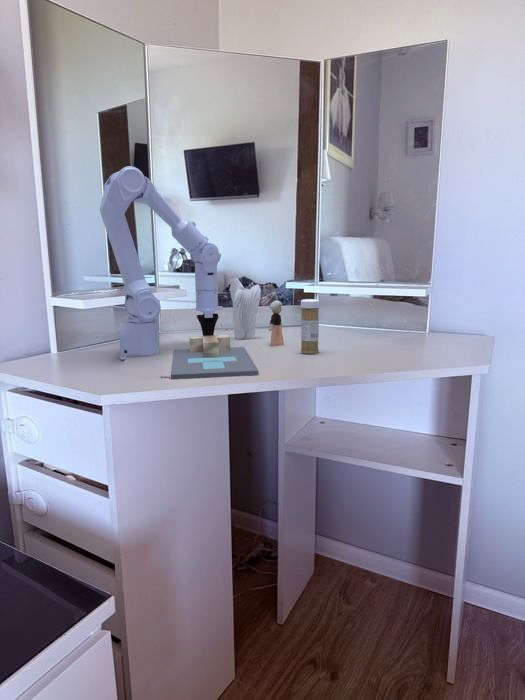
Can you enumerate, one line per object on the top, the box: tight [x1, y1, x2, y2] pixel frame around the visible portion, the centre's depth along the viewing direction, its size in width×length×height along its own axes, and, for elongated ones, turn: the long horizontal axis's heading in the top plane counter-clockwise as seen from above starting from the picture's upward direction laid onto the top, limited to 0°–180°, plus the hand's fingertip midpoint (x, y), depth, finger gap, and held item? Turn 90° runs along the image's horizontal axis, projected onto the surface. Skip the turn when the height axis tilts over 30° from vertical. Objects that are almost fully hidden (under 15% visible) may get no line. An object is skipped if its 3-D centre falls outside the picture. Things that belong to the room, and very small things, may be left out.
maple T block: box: [188, 334, 231, 358], centre depth 119 cm, size 10×10×4 cm
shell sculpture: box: [229, 277, 262, 340], centre depth 138 cm, size 8×8×18 cm
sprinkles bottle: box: [300, 298, 320, 355], centre depth 121 cm, size 5×5×14 cm
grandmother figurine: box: [268, 300, 285, 347], centre depth 128 cm, size 8×4×13 cm, turn 168°
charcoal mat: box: [170, 346, 260, 380], centre depth 112 cm, size 18×26×1 cm
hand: (208, 341), depth 129 cm, fingers closed
